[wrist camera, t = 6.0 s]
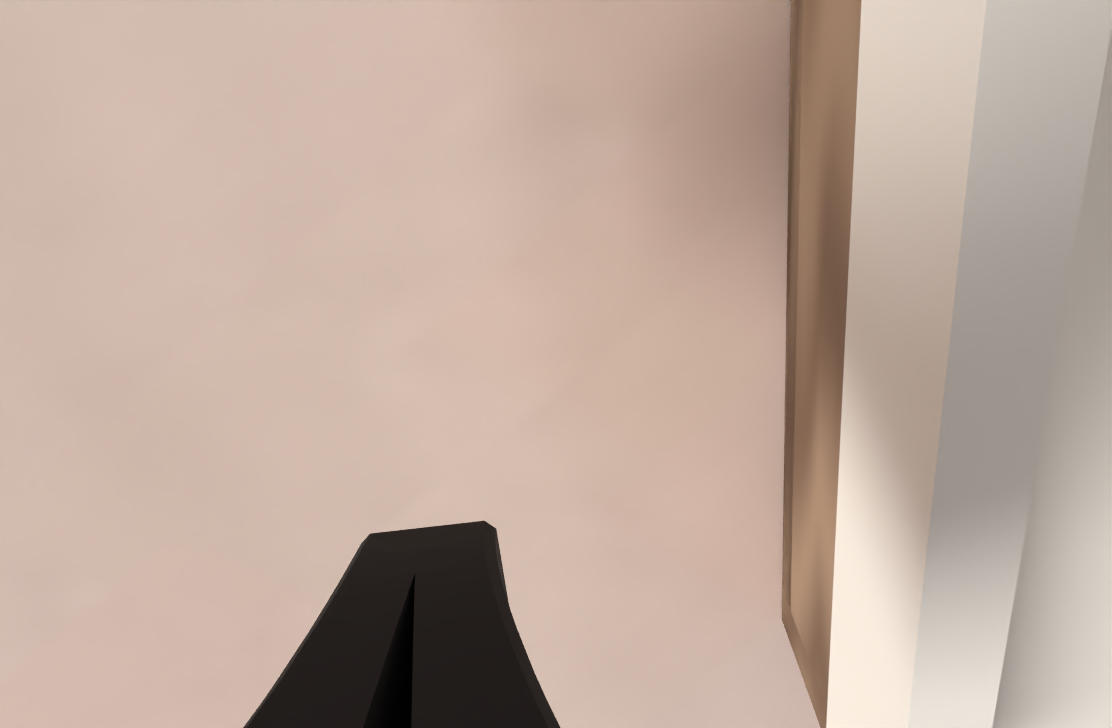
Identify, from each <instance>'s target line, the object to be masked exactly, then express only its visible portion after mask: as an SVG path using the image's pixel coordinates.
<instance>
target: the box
mask: <svg viewBox="0 0 1112 728" xmlns="http://www.w3.org/2000/svg"><path fill="white" fill-rule="evenodd" d="M861 1H862V0H791V34H790V102H789V170H788V238H787V307H786V375H785V443H784V511H783V579H782V621H783V624H784V627H785V629H786V632H787V635H788V638H789V640H790V643H791V646H792V649H793V652H794V654H795V657H796V660H797V663H798V666H799V668H800V671H801V674H802V677H803V679H804V682H805V685H806V688H807V691H808V693H809V696H810V699H811V702H812V704H813V707H814V710H815V713H816V716H817V718H818V721H819V724H820V727H821V728H826V722H827V702H828V681H829V660H830V640H831V619H832V599H833V578H834V557H835V537H836V516H837V496H838V475H839V454H840V434H841V413H842V393H843V372H844V351H845V331H846V310H847V290H848V269H849V248H850V228H851V207H852V187H853V166H854V145H855V125H856V104H857V84H858V63H859V42H860V22H861Z"/></svg>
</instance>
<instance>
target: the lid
mask: <svg viewBox="0 0 1112 728" xmlns="http://www.w3.org/2000/svg"><path fill="white" fill-rule="evenodd" d="M826 728H1112V0H862V1H861V22H860V42H859V63H858V84H857V104H856V125H855V145H854V166H853V187H852V207H851V228H850V248H849V269H848V290H847V310H846V331H845V351H844V372H843V393H842V413H841V434H840V454H839V475H838V496H837V516H836V537H835V557H834V578H833V599H832V619H831V640H830V660H829V681H828V702H827V722H826Z"/></svg>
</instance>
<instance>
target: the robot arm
mask: <svg viewBox="0 0 1112 728" xmlns="http://www.w3.org/2000/svg"><path fill="white" fill-rule="evenodd" d="M244 728H560V726H559V724H558V722H557V720H556V718H555V716H554V714H553V712H552V710H551V708H550V706H549V704H548V702H547V700H546V697H545V695H544V693H543V691H542V689H541V686H540V684H539V682H538V680H537V677H536V675H535V673H534V670H533V668H532V665H531V663H530V660H529V658H528V655H527V653H526V650H525V648H524V645H523V643H522V640H521V638H520V635H519V633H518V630H517V628H516V625H515V622H514V619H513V616H512V613H511V611H510V607H509V603H508V597H507V591H506V585H505V579H504V573H503V567H502V561H501V555H500V549H499V543H498V537H497V531H496V528H494V527H493V526H491V525H490V524H488V523H487V522H485V521H478V522H470V523H461V524H452V525H443V526H434V527H425V528H416V529H407V530H399V531H390V532H381V533H372V534H369V536H368V537H367V538H366V539H365V540H364V541H363V542H362V543H361V545H360V547H359V549H358V550H357V552H356V554H355V556H354V558H353V559H352V561H351V563H350V564H349V566H348V568H347V570H346V571H345V573H344V575H343V577H342V578H341V580H340V582H339V583H338V585H337V587H336V589H335V590H334V592H333V594H332V595H331V597H330V599H329V600H328V602H327V604H326V605H325V607H324V608H323V610H322V612H321V613H320V615H319V616H318V618H317V620H316V621H315V623H314V625H313V626H312V628H311V629H310V631H309V633H308V634H307V636H306V637H305V639H304V640H303V642H302V643H301V645H300V646H299V648H298V649H297V651H296V652H295V654H294V655H293V657H292V658H291V660H290V661H289V663H288V665H287V666H286V668H285V669H284V671H283V672H282V674H281V675H280V677H279V678H278V680H277V681H276V683H275V684H274V686H273V687H272V689H271V690H270V692H269V693H268V694H267V696H266V697H265V699H264V700H263V702H262V703H261V704H260V706H259V707H258V709H257V710H256V711H255V713H254V714H253V715H252V717H251V718H250V719H249V721H248V722H247V723H246V725H245V726H244Z"/></svg>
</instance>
